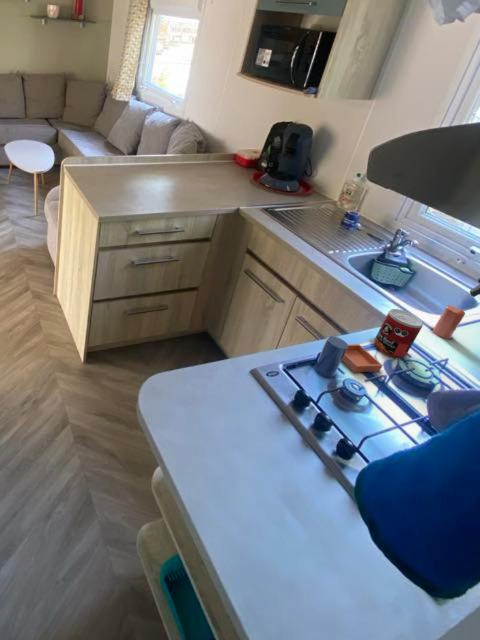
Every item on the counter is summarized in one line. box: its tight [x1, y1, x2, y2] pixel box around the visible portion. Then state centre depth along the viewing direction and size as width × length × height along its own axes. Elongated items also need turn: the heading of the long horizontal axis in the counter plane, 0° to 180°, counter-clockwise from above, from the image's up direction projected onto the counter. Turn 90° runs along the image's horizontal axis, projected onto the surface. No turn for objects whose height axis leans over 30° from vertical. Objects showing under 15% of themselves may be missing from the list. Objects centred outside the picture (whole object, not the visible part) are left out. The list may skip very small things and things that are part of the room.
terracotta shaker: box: [432, 304, 466, 340], centre depth 128 cm, size 5×5×9 cm
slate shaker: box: [314, 335, 349, 378], centre depth 104 cm, size 5×5×9 cm
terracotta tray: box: [341, 343, 383, 373], centre depth 111 cm, size 8×8×2 cm
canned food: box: [373, 308, 424, 359], centre depth 116 cm, size 8×8×11 cm
